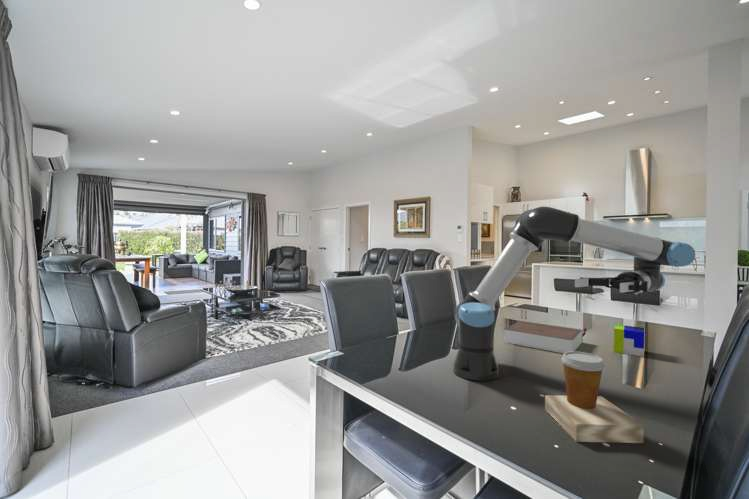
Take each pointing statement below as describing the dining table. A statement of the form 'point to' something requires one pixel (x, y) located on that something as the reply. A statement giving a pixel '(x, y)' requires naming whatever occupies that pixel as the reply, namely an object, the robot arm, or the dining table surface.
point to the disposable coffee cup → (582, 378)
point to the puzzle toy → (629, 340)
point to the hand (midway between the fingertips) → (597, 285)
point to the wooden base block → (594, 421)
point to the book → (543, 336)
